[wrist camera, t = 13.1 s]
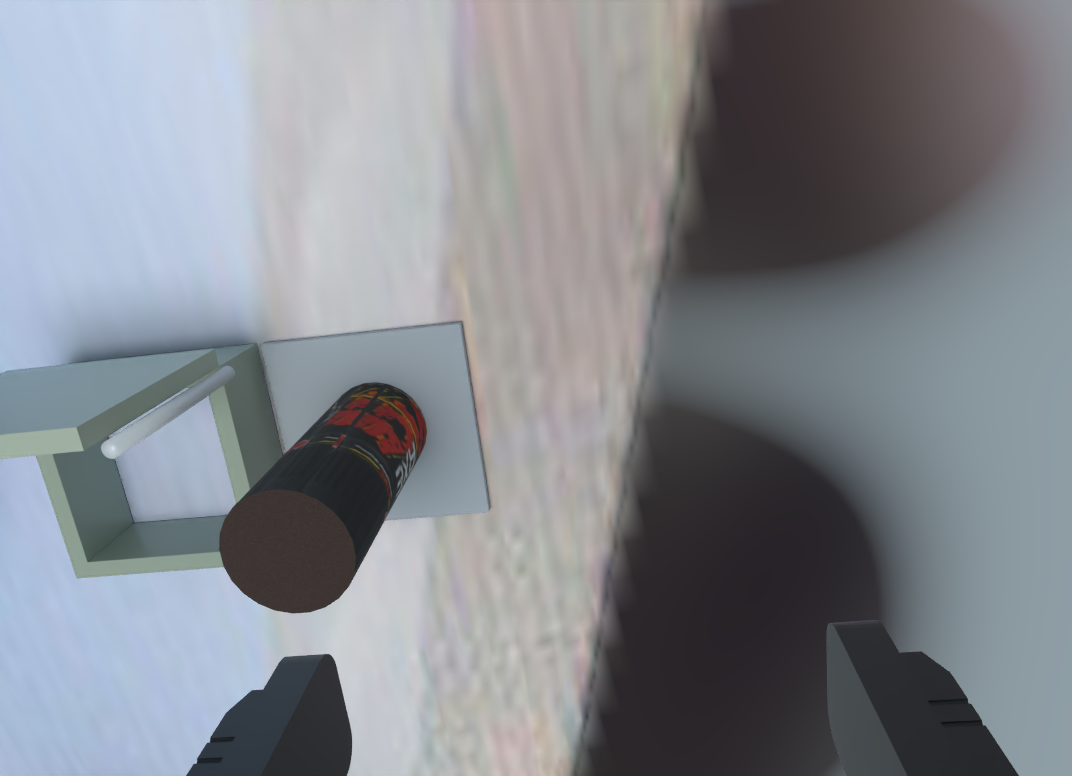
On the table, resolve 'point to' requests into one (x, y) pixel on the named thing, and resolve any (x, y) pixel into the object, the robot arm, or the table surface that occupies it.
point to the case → (89, 456)
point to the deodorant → (324, 501)
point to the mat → (417, 369)
